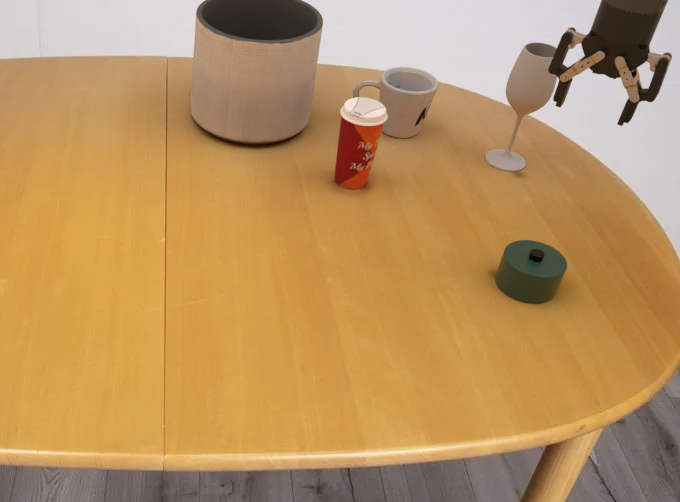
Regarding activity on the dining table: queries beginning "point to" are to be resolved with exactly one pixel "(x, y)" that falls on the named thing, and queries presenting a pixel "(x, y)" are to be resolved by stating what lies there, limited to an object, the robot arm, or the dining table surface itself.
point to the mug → (403, 99)
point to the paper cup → (358, 140)
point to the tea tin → (530, 271)
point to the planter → (254, 68)
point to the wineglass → (525, 97)
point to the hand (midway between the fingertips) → (589, 113)
